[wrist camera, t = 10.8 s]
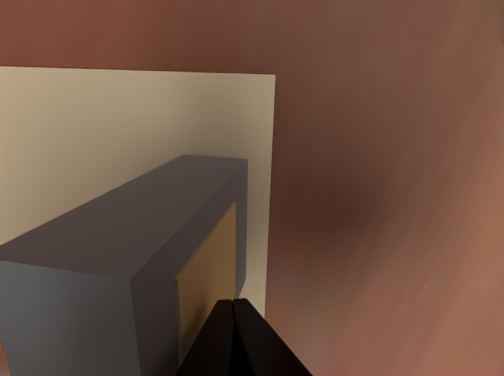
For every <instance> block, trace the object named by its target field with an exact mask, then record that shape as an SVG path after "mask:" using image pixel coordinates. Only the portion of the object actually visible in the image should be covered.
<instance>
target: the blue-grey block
mask: <svg viewBox="0 0 504 376" xmlns="http://www.w3.org/2000/svg"><path fill="white" fill-rule="evenodd" d="M247 188H248V159H238V158H223V157H208V156H193V155H181V156H179V157H177V158H175V159H173V160H171V161H169V162H167V163H165V164H163V165H161V166H159V167H157V168H155V169H153V170H151V171H149V172H147V173H145V174H143V175H141V176H139V177H137V178H135V179H133V180H131V181H129V182H127V183H125V184H123V185H121V186H119V187H117V188H115V189H113V190H111V191H109V192H107V193H105V194H103V195H101V196H99V197H97V198H94V199H92V200H90V201H88V202H86V203H84V204H82V205H80V206H78V207H76V208H74V209H72V210H70V211H68V212H66V213H64V214H62V215H60V216H58V217H56V218H54V219H52V220H50V221H48V222H46V223H44V224H42V225H40V226H38V227H36V228H34V229H32V230H30V231H28V232H26V233H24V234H22V235H20V236H18V237H16V238H14V239H12V240H10V241H8V242H6V243H4V244H2V245H0V339H1V342H2V346H3V349H4V353H5V356H6V360H7V363H8V367H9V370H10V374H11V376H175V374H176V372H177V370H178V369H179V367H180V365H181V363H182V362H183V360H184V358H185V356H186V355H187V353H188V351H189V349H190V347H191V346H192V344H193V342H194V340H195V339H196V337H197V335H198V333H199V332H200V330H201V328H202V326H203V325H204V323H205V321H206V319H207V317H208V316H209V314H210V312H211V310H212V309H213V307H214V305H215V303H216V302H217V300H220V299H231V300H232V301H233V299H237V298H239V296H240V293H241V291H242V288H243V285H244V283H245V280H246V244H247Z"/></svg>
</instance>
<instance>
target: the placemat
mask: <svg viewBox="0 0 504 376" xmlns="http://www.w3.org/2000/svg"><path fill="white" fill-rule="evenodd" d="M274 95H275V75H266V74H233V73H200V72H168V71H135V70H102V69H70V68H37V67H4V66H0V245H2V244H4V243H6V242H8V241H10V240H12V239H14V238H16V237H18V236H20V235H22V234H24V233H26V232H28V231H30V230H32V229H34V228H36V227H38V226H40V225H42V224H44V223H46V222H48V221H50V220H52V219H54V218H56V217H58V216H60V215H62V214H64V213H66V212H68V211H70V210H72V209H74V208H76V207H78V206H80V205H82V204H84V203H86V202H88V201H90V200H92V199H94V198H97V197H99V196H101V195H103V194H105V193H107V192H109V191H111V190H113V189H115V188H117V187H119V186H121V185H123V184H125V183H127V182H129V181H131V180H133V179H135V178H137V177H139V176H141V175H143V174H145V173H147V172H149V171H151V170H153V169H155V168H157V167H159V166H161V165H163V164H165V163H167V162H169V161H171V160H173V159H175V158H177V157H179V156H181V155H193V156H208V157H223V158H238V159H248V188H247V244H246V280H245V283H244V285H243V288H242V291H241V293H240V296H239V298H247V299H248V300H249V301H250V303H251V304H252V305H253V306H254V307H255V308H256V310H257V311H258V312H259V313H260V314H261V316H262V317H263V318H264V315H265V293H266V271H267V249H268V227H269V205H270V183H271V161H272V139H273V117H274Z"/></svg>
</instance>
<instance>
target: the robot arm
mask: <svg viewBox="0 0 504 376" xmlns="http://www.w3.org/2000/svg"><path fill="white" fill-rule="evenodd" d="M175 376H313V375H312V374H311V373H310V372H309V371H308V370H307V368H306V367H305V366H304V365H303V364H302V363H301V361H300V360H299V359H298V358H297V357H296V356H295V354H294V353H293V352H292V351H291V350H290V348H289V347H288V346H287V345H286V344H285V343H284V341H283V340H282V339H281V338H280V337H279V336H278V334H277V333H276V332H275V331H274V330H273V328H272V327H271V326H270V325H269V324H268V323H267V321H266V320H265V319H264V318H263V317H262V316H261V314H260V313H259V312H258V311H257V310H256V308H255V307H254V306H253V305H252V304H251V303H250V301H249V300H248V299H247V298H237V299H233V301H232V300H231V299H220V300H217V302H216V303H215V305H214V307H213V309H212V310H211V312H210V314H209V316H208V317H207V319H206V321H205V323H204V325H203V326H202V328H201V330H200V332H199V333H198V335H197V337H196V339H195V340H194V342H193V344H192V346H191V347H190V349H189V351H188V353H187V355H186V356H185V358H184V360H183V362H182V363H181V365H180V367H179V369H178V370H177V372H176V374H175Z"/></svg>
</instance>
